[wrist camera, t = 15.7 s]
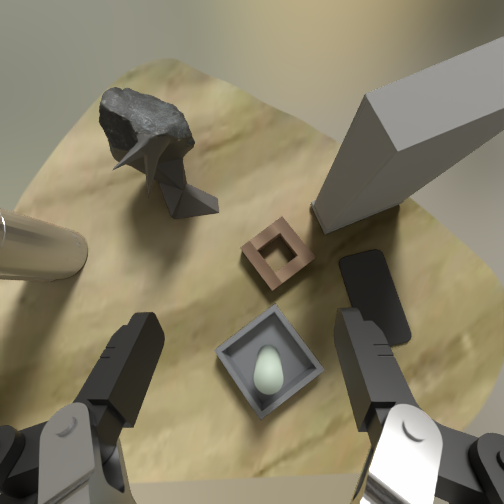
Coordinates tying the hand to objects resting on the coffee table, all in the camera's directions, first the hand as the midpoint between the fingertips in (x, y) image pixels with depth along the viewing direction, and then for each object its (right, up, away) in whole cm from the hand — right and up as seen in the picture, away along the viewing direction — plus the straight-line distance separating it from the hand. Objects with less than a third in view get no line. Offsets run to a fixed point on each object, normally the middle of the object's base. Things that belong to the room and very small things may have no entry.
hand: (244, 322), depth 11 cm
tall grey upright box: (+18, +11, +32) cm, 38 cm away
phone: (+20, -4, +29) cm, 36 cm away
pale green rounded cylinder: (+3, -13, +28) cm, 31 cm away
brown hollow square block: (+5, +3, +31) cm, 32 cm away
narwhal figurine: (-14, +17, +35) cm, 41 cm away
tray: (+3, -13, +29) cm, 32 cm away
